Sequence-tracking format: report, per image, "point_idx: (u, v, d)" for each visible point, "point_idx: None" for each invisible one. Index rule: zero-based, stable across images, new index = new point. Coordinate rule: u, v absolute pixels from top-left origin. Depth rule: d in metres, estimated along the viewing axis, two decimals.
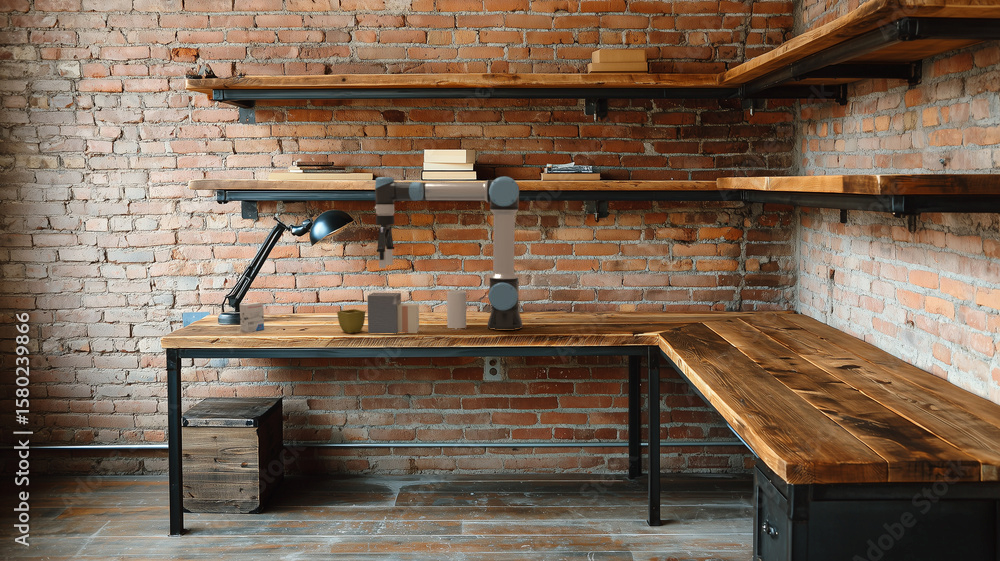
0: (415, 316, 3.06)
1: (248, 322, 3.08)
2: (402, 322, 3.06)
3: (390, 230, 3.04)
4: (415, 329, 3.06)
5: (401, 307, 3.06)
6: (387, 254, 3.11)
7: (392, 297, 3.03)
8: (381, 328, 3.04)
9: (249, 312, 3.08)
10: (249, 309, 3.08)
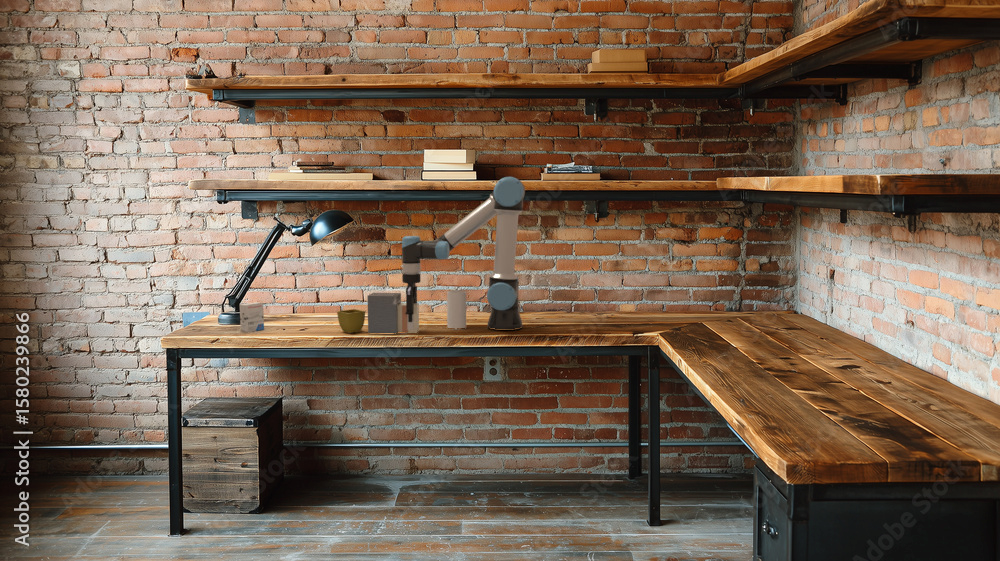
0: (415, 316, 3.06)
1: (248, 322, 3.08)
2: (402, 322, 3.06)
3: (416, 287, 3.08)
4: (415, 329, 3.06)
5: (401, 306, 3.06)
6: None
7: (392, 297, 3.03)
8: (381, 328, 3.04)
9: (249, 312, 3.08)
10: (249, 309, 3.08)
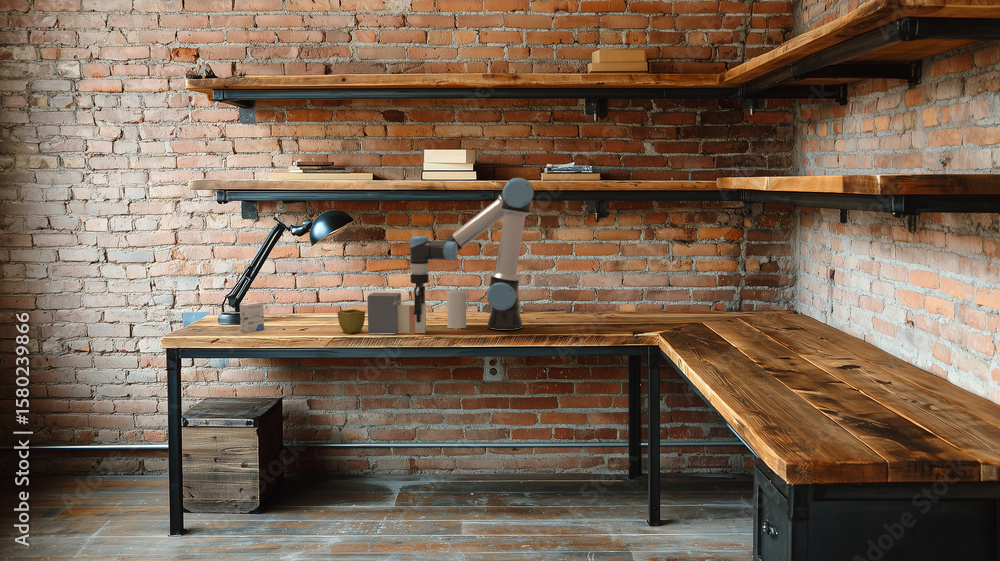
0: (423, 316, 3.06)
1: (248, 322, 3.08)
2: (409, 322, 3.06)
3: (424, 288, 3.08)
4: (422, 329, 3.06)
5: (409, 306, 3.05)
6: None
7: (392, 297, 3.03)
8: (381, 328, 3.04)
9: (249, 312, 3.08)
10: (249, 309, 3.08)
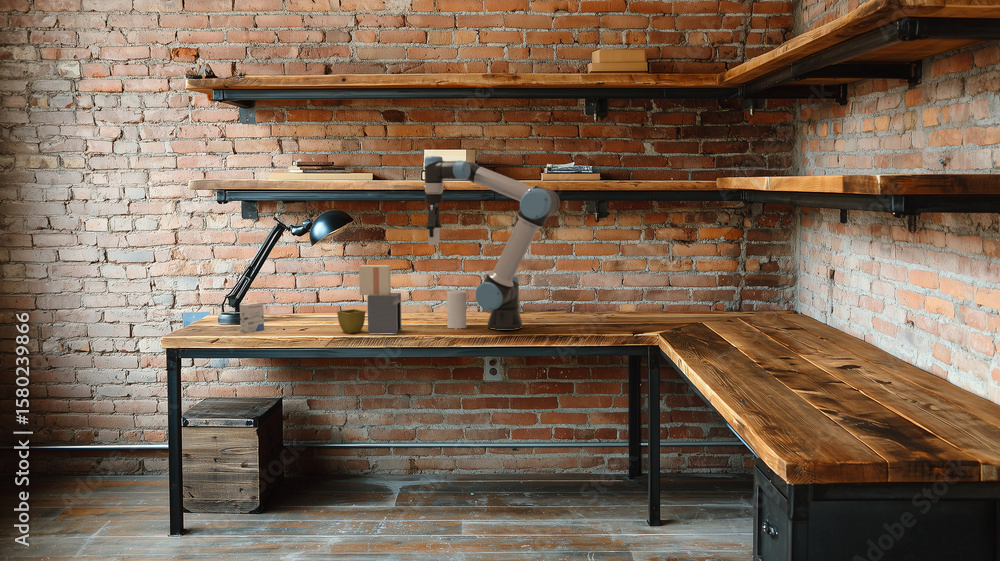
0: (386, 277, 3.04)
1: (248, 322, 3.08)
2: (373, 283, 3.05)
3: (438, 208, 3.11)
4: (386, 291, 3.05)
5: (373, 268, 3.04)
6: (434, 232, 3.18)
7: (392, 297, 3.03)
8: (381, 328, 3.04)
9: (249, 312, 3.08)
10: (249, 309, 3.08)
